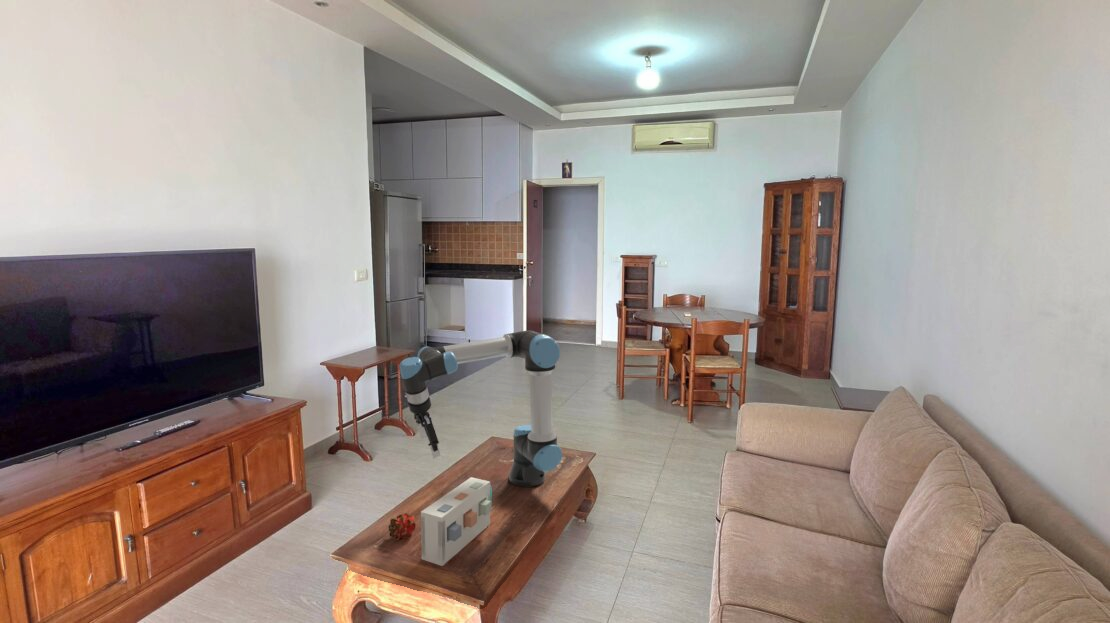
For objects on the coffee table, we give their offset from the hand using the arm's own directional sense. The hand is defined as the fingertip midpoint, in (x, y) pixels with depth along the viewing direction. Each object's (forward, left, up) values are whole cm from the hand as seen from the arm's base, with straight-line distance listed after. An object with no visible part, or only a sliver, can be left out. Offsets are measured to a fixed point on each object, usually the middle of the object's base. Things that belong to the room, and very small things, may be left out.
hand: (430, 446), depth 203 cm
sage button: (-15, +21, -17) cm, 31 cm away
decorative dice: (-18, +3, -25) cm, 30 cm away
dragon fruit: (+11, +16, -25) cm, 31 cm away
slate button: (-2, +34, -17) cm, 38 cm away
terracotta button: (-9, +28, -17) cm, 34 cm away
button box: (-6, +25, -24) cm, 35 cm away
